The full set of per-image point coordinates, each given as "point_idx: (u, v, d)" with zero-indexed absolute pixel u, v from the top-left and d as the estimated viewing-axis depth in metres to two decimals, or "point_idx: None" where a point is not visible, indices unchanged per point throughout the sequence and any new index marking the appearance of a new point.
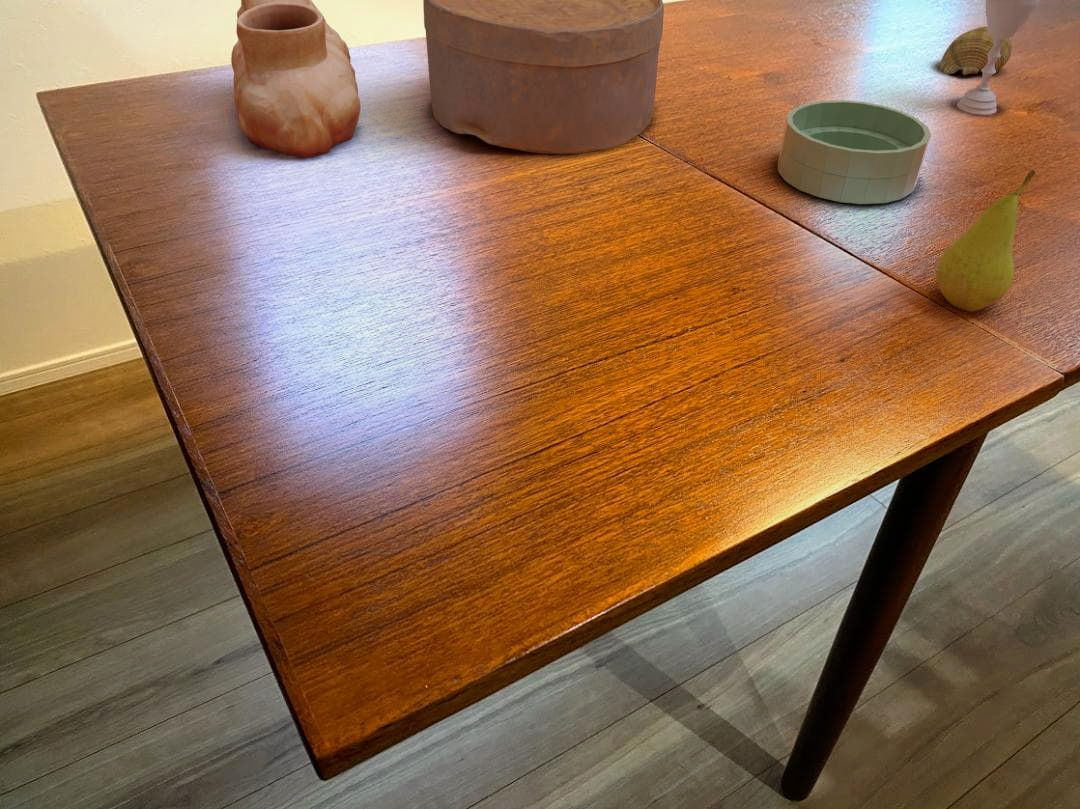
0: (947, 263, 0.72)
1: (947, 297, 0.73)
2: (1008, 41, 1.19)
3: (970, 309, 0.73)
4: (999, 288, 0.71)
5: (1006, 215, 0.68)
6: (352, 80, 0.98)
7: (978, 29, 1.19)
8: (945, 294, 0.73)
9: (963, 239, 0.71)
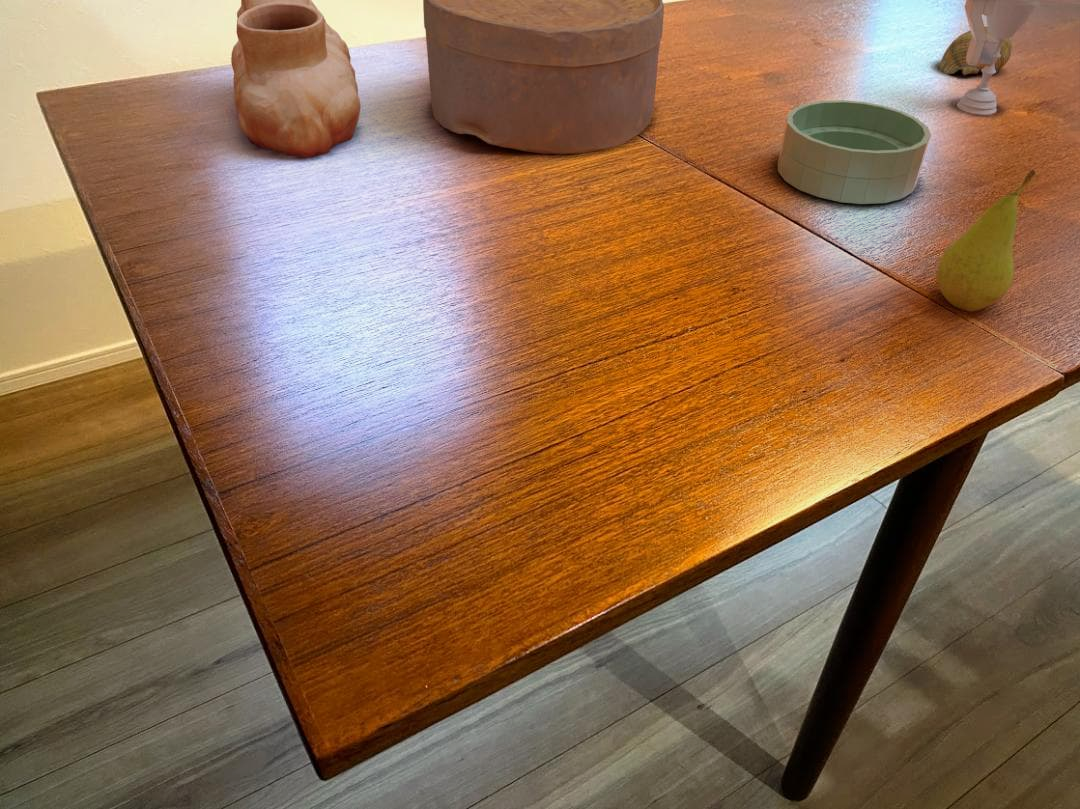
0: (947, 263, 0.72)
1: (947, 297, 0.73)
2: (1008, 41, 1.19)
3: (970, 309, 0.73)
4: (999, 288, 0.71)
5: (1006, 215, 0.68)
6: (352, 80, 0.98)
7: None
8: (945, 294, 0.73)
9: (963, 239, 0.71)
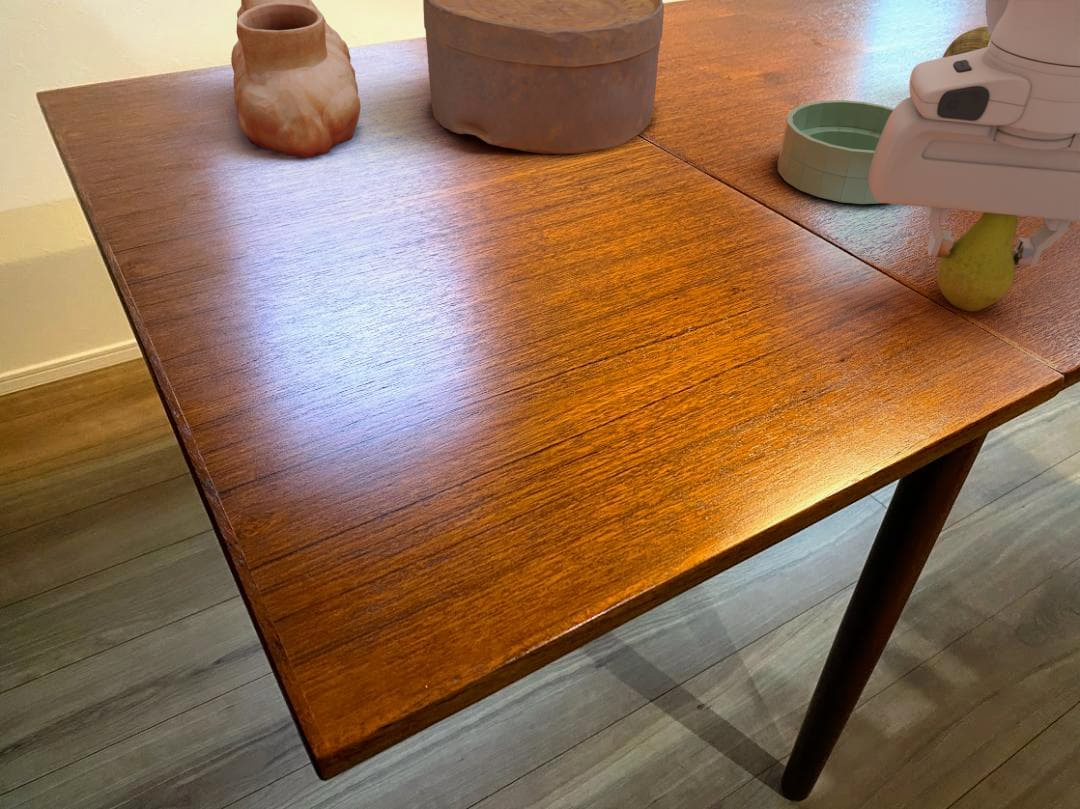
0: (948, 263, 0.72)
1: (947, 297, 0.73)
2: None
3: (970, 309, 0.73)
4: (1000, 288, 0.71)
5: (1007, 215, 0.68)
6: (352, 80, 0.98)
7: (978, 29, 1.19)
8: (945, 294, 0.73)
9: (964, 239, 0.71)
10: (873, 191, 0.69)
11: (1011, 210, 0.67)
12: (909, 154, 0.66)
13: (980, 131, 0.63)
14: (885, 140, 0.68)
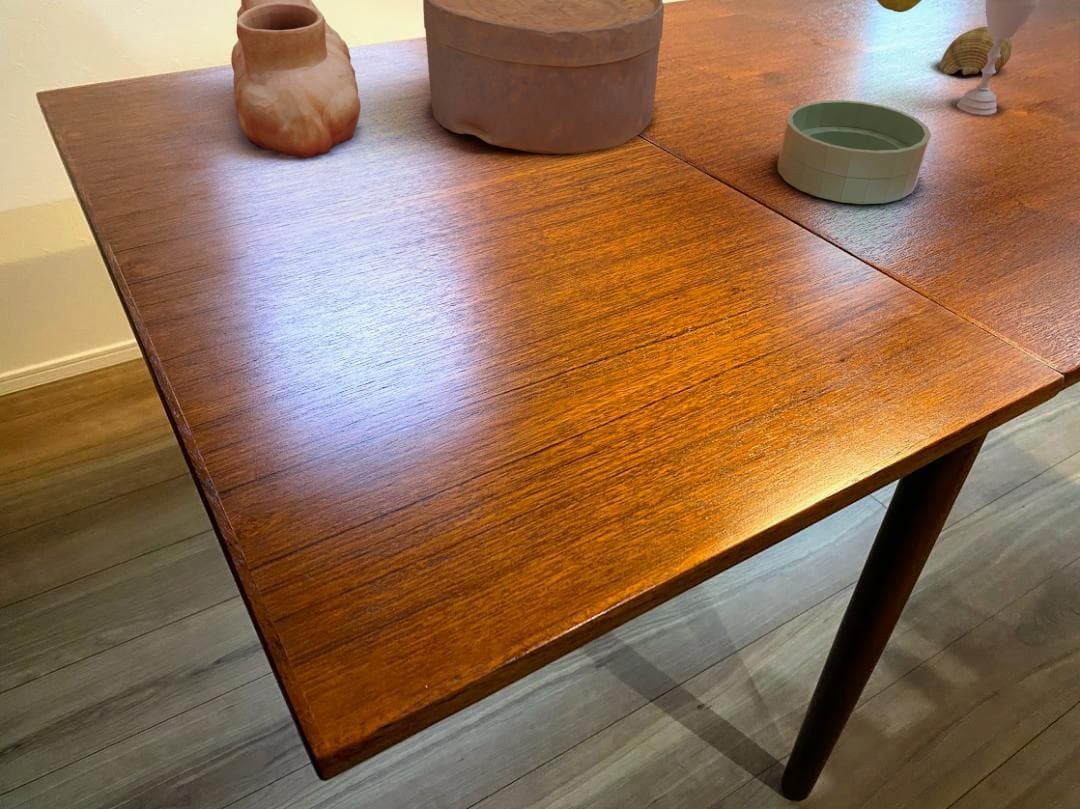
0: None
1: None
2: (1008, 41, 1.19)
3: (899, 7, 0.81)
4: None
5: None
6: (352, 80, 0.98)
7: (978, 29, 1.19)
8: None
9: None
10: None
11: None
12: None
13: None
14: None
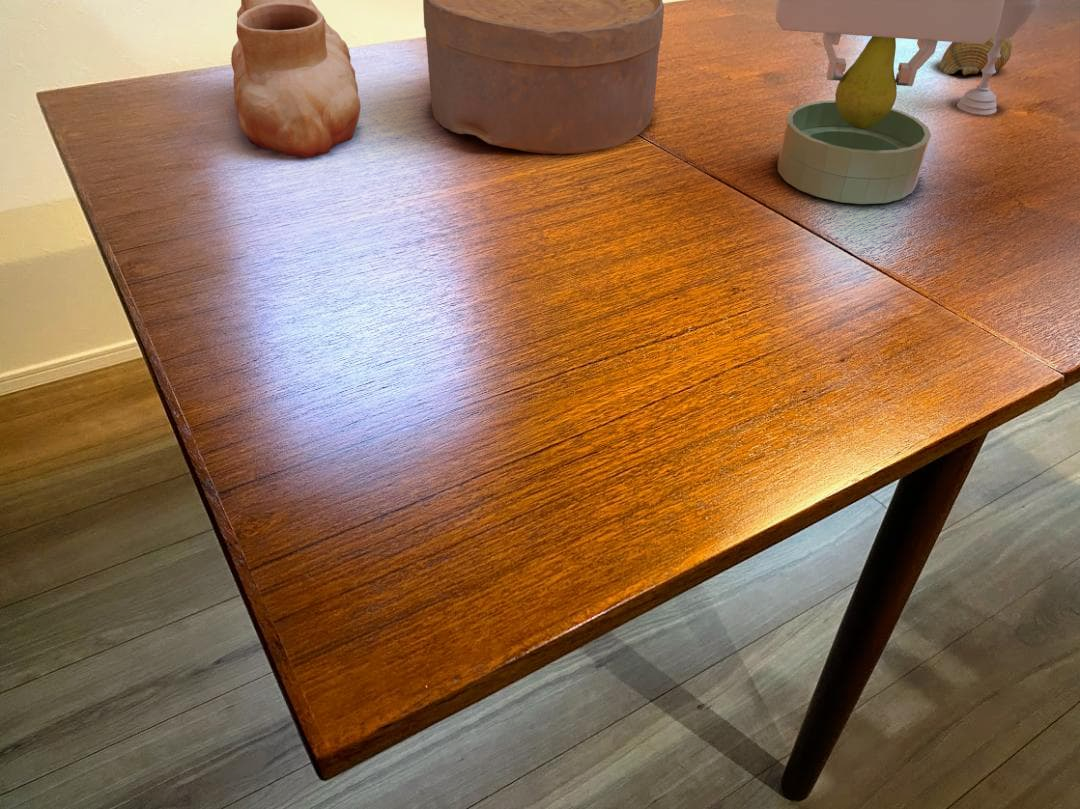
0: (842, 85, 0.88)
1: (843, 115, 0.89)
2: (1008, 41, 1.19)
3: (862, 125, 0.89)
4: (883, 103, 0.87)
5: (886, 38, 0.84)
6: (352, 80, 0.98)
7: None
8: (842, 113, 0.89)
9: (855, 63, 0.87)
10: (777, 20, 0.85)
11: (887, 32, 0.83)
12: None
13: None
14: None
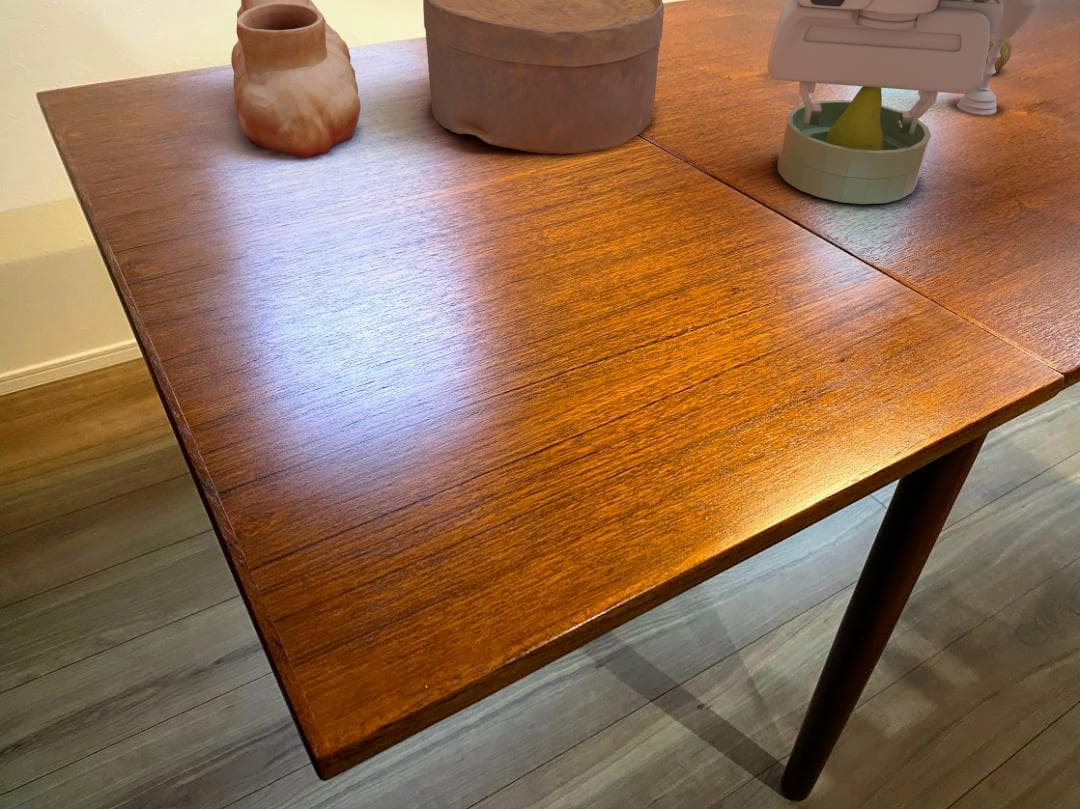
0: (831, 136, 0.91)
1: None
2: (1008, 41, 1.19)
3: None
4: None
5: (872, 93, 0.88)
6: (352, 80, 0.98)
7: None
8: None
9: (842, 116, 0.90)
10: (769, 70, 0.88)
11: (875, 83, 0.86)
12: (793, 37, 0.85)
13: (845, 16, 0.82)
14: (777, 28, 0.86)
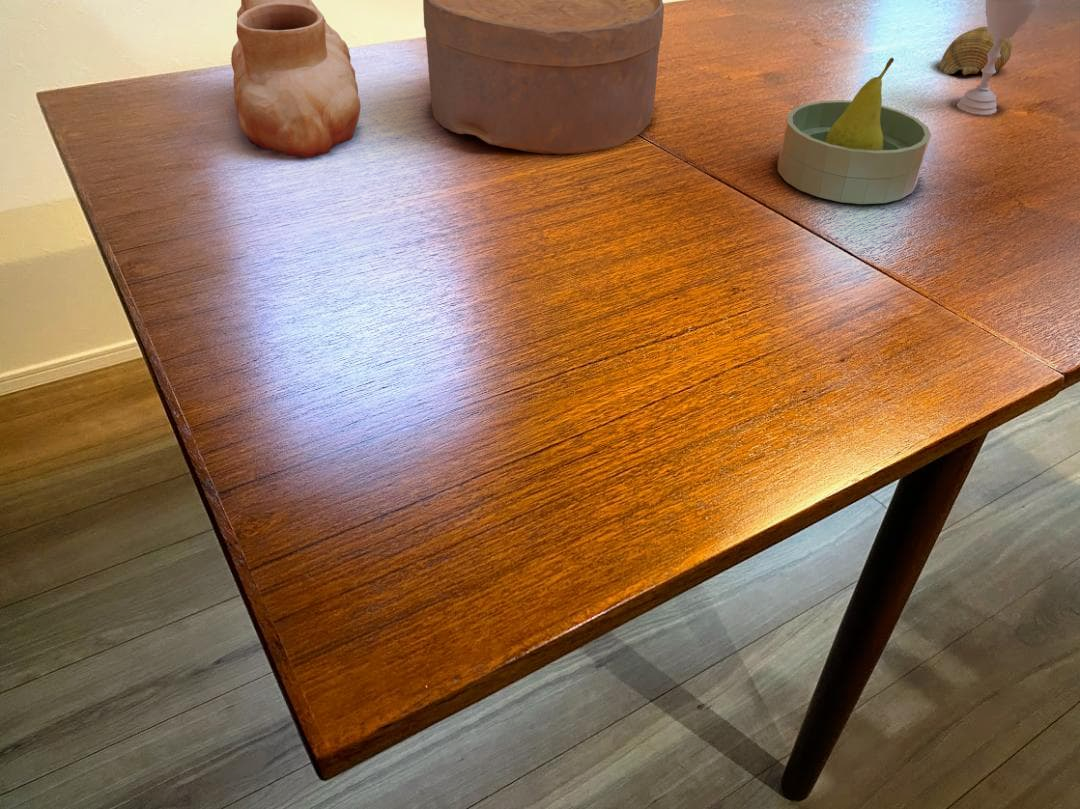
0: (831, 136, 0.91)
1: None
2: (1008, 41, 1.19)
3: None
4: None
5: (872, 93, 0.88)
6: (352, 80, 0.98)
7: (978, 29, 1.19)
8: None
9: (842, 116, 0.90)
10: None
11: None
12: None
13: None
14: None
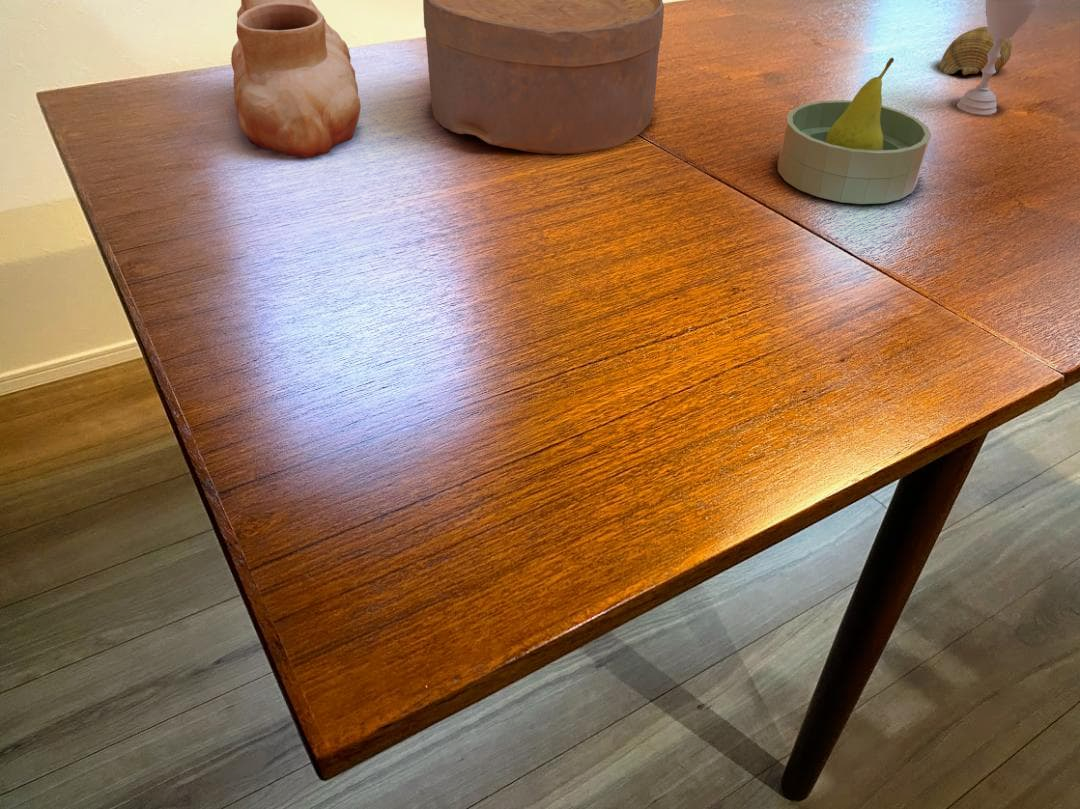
0: (831, 136, 0.91)
1: None
2: (1008, 41, 1.19)
3: None
4: None
5: (872, 93, 0.88)
6: (352, 80, 0.98)
7: (978, 29, 1.19)
8: None
9: (842, 116, 0.90)
10: None
11: None
12: None
13: None
14: None
